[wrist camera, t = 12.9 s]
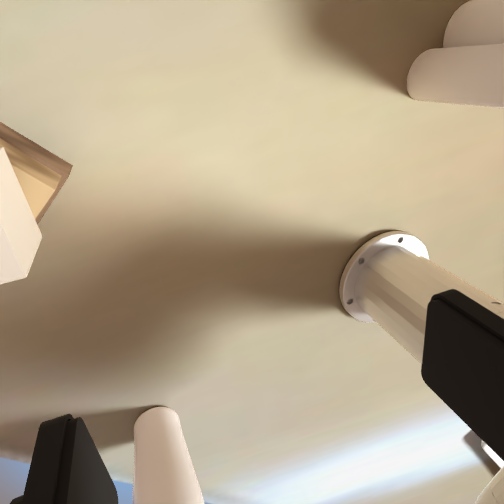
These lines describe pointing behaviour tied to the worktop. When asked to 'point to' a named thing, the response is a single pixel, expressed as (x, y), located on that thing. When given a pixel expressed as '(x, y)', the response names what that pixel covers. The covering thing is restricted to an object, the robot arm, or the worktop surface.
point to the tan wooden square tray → (39, 155)
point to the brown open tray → (32, 177)
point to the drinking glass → (163, 461)
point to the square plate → (492, 455)
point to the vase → (464, 59)
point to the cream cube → (15, 226)
